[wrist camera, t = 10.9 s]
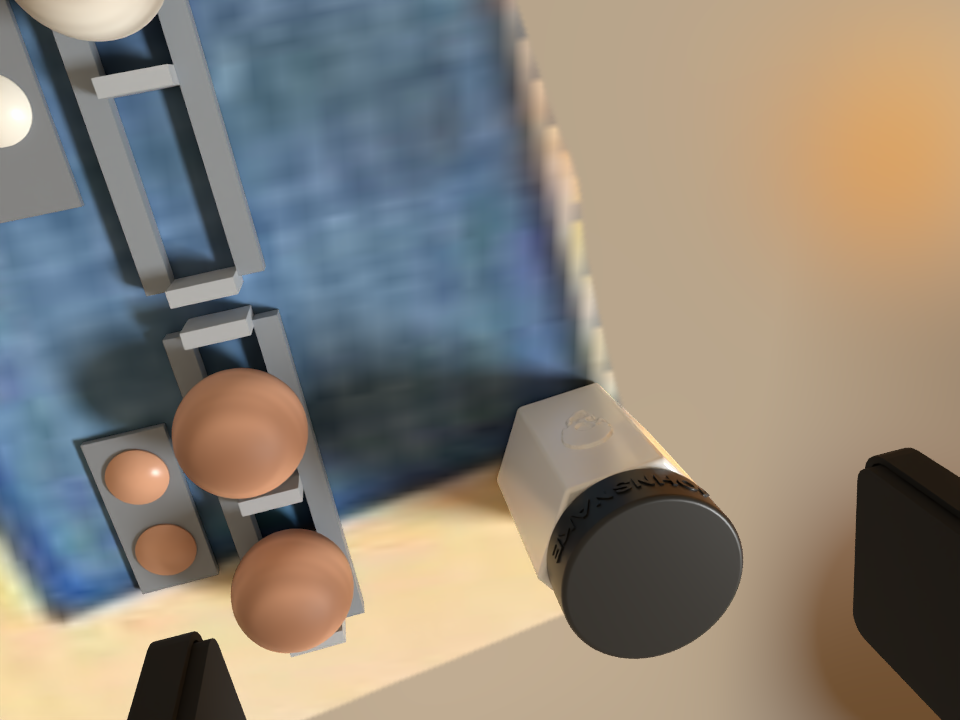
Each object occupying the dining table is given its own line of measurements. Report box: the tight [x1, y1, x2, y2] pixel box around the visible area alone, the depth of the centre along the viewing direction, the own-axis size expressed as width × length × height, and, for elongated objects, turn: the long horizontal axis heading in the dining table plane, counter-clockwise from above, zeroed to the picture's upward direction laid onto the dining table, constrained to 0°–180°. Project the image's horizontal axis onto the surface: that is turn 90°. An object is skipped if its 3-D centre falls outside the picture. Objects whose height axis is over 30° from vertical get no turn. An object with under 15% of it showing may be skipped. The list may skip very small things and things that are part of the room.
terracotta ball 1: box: [172, 368, 308, 499], centre depth 36 cm, size 6×6×6 cm
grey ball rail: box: [52, 0, 364, 657], centre depth 36 cm, size 39×5×2 cm, turn 10°
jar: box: [497, 383, 743, 659], centre depth 38 cm, size 9×8×12 cm
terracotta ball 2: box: [231, 529, 354, 653], centre depth 39 cm, size 6×6×6 cm
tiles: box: [0, 0, 219, 594], centre depth 36 cm, size 29×4×1 cm, turn 10°
